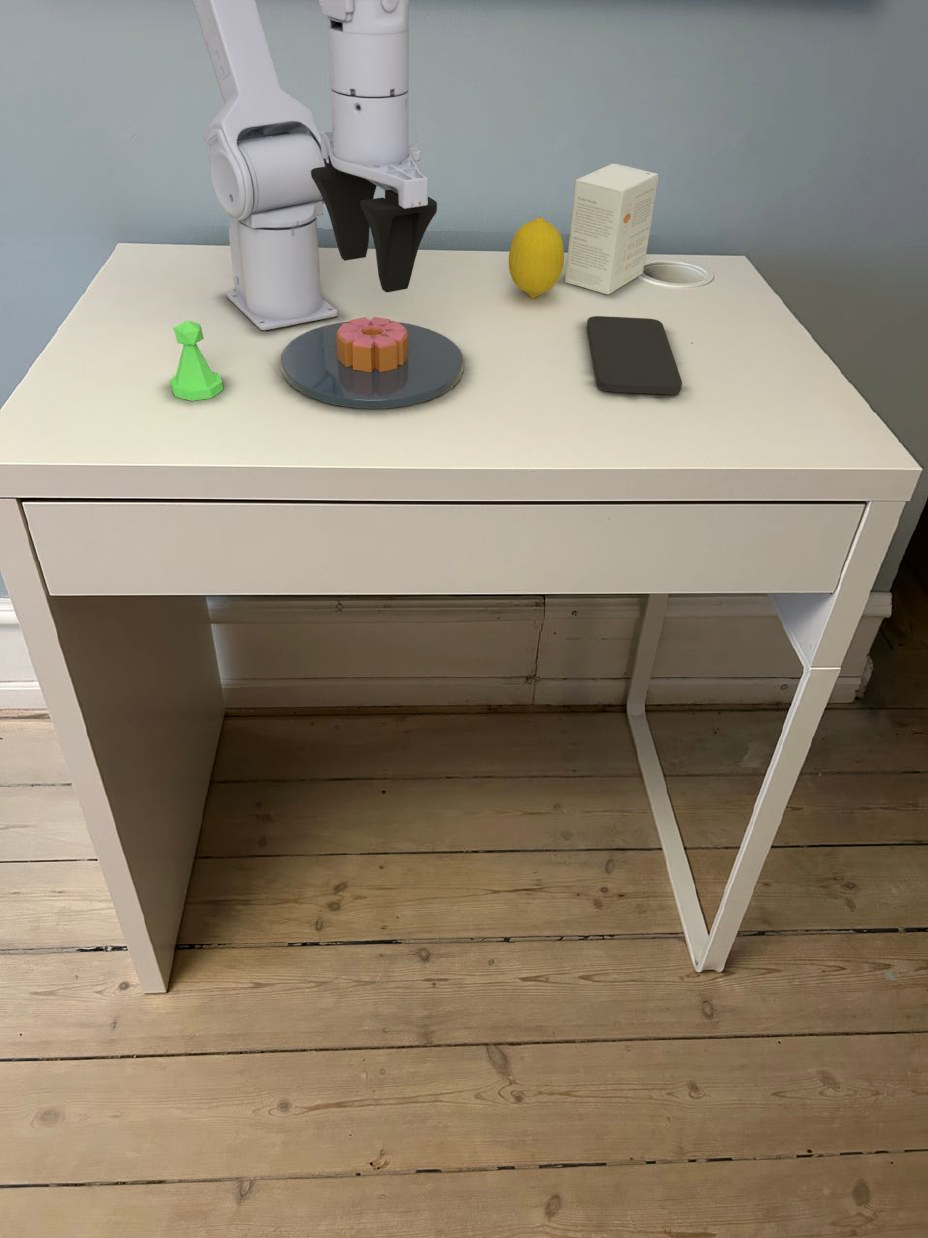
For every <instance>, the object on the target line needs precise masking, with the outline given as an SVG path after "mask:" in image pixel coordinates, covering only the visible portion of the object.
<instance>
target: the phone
mask: <svg viewBox="0 0 928 1238" xmlns="http://www.w3.org/2000/svg"><path fill="white" fill-rule="evenodd" d="M586 331H587V336H588V343H589V348H590V351H591V352H590V353H591V358H592V359H591V360H592V364H593V370H594V375H595V381H596V385H597V387H598V388H599V389H601V390H603V391H606V392H611V393H612V392H613V393H632V394H648V395H649V394H652V395H675V394H676V395H677V394H679V393H680V392H681V390H682V386H683V380H682V377H681V375H680V372H679V371H680V370H679V368H678V365H677V363H676V360H675V357H674V353H673V351H672V348H671V345H670V342H669V339H668V336H667V333H666V330H665V327H664V324H663V322H661V321H660V320H658V319H656V318H655V319H654V318H648V317H647V318H646V317H645V318H644V317H628V316H627V317H626V316H625V317H624V316H607V315H606V316H603V315H595V316H590V317H589V318H587V321H586Z"/></svg>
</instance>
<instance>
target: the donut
mask: <svg viewBox="0 0 928 1238" xmlns="http://www.w3.org/2000/svg"><path fill="white" fill-rule="evenodd" d="M370 320H371V321H370ZM349 321H350V322H349ZM349 321H348V322H349V323H343V325H342V326H341V327H340V328H339V329H338V331H337V332H336V335H337V355H338V360H339V361H340V362H341V363H342V364H343V365H345V366H346V367H349V366H353V370H358V371H364V372H372V371H373V370H374V368H376V369H377V370H378V371H379V372H384V371H389V370H393V369H397V365H403V364H404V363H405V361H406V360H407V358H408V334H407V330H406V328H405V327H403V326H402V325H401V324H400V323H398V322H399V321H394V322H392V320H391V318H385V317H377V316H373V317H372V318H371V319H369V318H368V317H366V316H365V317H360V318H354V319H349Z"/></svg>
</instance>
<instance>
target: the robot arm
mask: <svg viewBox="0 0 928 1238" xmlns="http://www.w3.org/2000/svg"><path fill="white" fill-rule="evenodd" d="M191 1H192V4H193V7H194V10H195V14H196V17H197V20H198V23H199V27H200V30H201V33H202V36H203V40H204V42H205V43H204V44H205V46H206V49H207V53H208V56H209V60H210V63H211V65H212V69H213V72H214V75H215V79H216V82H217V85H218V88H219V92H220V94H221V97H222V101H223V105H222V106H221V108H220V109H219V110H218V112H217V114H216V115H215V116H214V117H213V119H212V121H211V122H210V123H209V125H208V127H207V129H206V132H205V134H204V144H205V149H206V153H207V156H208V162H209V172H210V173H209V174H210V180H211V186H212V188H213V192H214V195H215V197H216V199H217V201H218V203H219V206H221V208H222V209H223V211H224V212H226V214H227V215H228V216H229V217H230V218H231V220H230V223H229V226H228V228H229V229H228V239H229V240H228V241H229V246H230V256H231V267H232V272H233V281H234V289H231V290H228V291H226V293H225V294H226V295H225V296H226V297H227V298H228V299H229V301H231V302H232V303H233V304H234V305H235V306H236V307H237V308H238V309H239V311H241V312H242V313H243V314H244V315H245V316H246V317H247V318H248V319H249V320H250V321H251V322H252V323H253V324H254V325H255V326H256V327H257V328H258V329H259V330H261V331H269V330H274V329H279V328H284V327H290V326H294V325H299V324H305V323H310V322H315V321H319V320H325V319H330V318H331V319H332V318H335V317H338V315H339V312H338V310H337V309H336V308H335V307H333V306H332V305H331V304H330V303H329V302H328V301H326V300H325V299H324V298H323V297H322V289H321V288H322V287H321V272H320V271H321V270H320V253H319V235H318V217H319V216H323V215H324V205H325V207H326V211H327V213H328V216H329V220H330V223H331V226H332V230H333V234H334V238H335V242H336V245H337V249H338V253H339V255H340V258H341V260H342V261H344V262H346V261H353V260H359V259H364V258H367V254H368V249H369V242H370V232H371V236H372V241H373V244H374V250H375V257H376V267H377V274H378V280H379V284H380V287H381V290H382V291H383V292H384V293H393V292H398V291H404V290H408V289H409V285H410V282H411V279H412V274H413V270H414V266H415V262H416V258H417V255H418V251H419V248H420V245H421V242H422V240H423V238H424V235H425V233H426V231H427V229H428V227H429V225H430V224H431V221H432V220H433V218H434V217H435V216H436V214H437V212H438V202H437V200H436V199H433V198H431V197H430V196H429V178H428V177H427V176H425V175H424V174H423V173H422V172H421V171H420V170H419V167H418V166H417V163H416V162H420V161H421V160H422V151H421V150H420V149H418V148H416V147H415V146H413V145H409V85H410V84H409V78H410V77H409V76H410V75H409V73H410V72H409V67H410V66H409V59H410V58H409V48H410V47H409V44H410V41H409V35H410V31H409V30H410V29H409V28H410V26H409V23H410V21H409V20H410V18H409V17H410V15H409V13H410V12H409V10H410V9H409V8H410V7H409V6H410V5H409V4H410V0H318V5H319V6H320V8H321V14H322V15H323V16H325V17H327V32H328V55H329V56H328V57H329V76H330V78H329V79H330V98H331V99H330V100H331V127H332V130H328V131H319V128H318V126H317V123H316V121H315V117H314V114H313V111H312V110H311V109H310V108H309V107H307V106H306V105H304V104H303V103H302V102H300V101H299V100H297V99H295V98H294V97H293V96H291V95H290V94H289V93H287V92H286V91H284V90H283V89H282V88H281V83H280V81H279V78H278V77H279V76H278V74H277V71H276V68H275V64H274V61H273V57H272V53H271V50H270V47H269V43H268V40H267V37H266V33H265V31H264V26H263V23H262V20H261V19H262V18H261V16H260V13H259V10H258V6H257V3H256V0H191ZM377 187H378V188H380V189H382V190H383V191H384V196H383V197H375V194H376V190H377Z"/></svg>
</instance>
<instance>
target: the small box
mask: <svg viewBox="0 0 928 1238" xmlns="http://www.w3.org/2000/svg"><path fill="white" fill-rule="evenodd" d="M659 177H660V175H659V173H656V172H652V171H648V170H644V169H640V168H635V167H631V166H627V165H623V164H619V163H613V162H612V163H610V164H608V165H606V166H603V167H601V168H599V169H597V170H594V171H591V172H590V173H587V174H584V175H583V176H581V177H579V178H576V179H575V181H574V189H573V190H574V191H573V201H572V209H571V218H570V219H571V220H570V230H569V237H568V239H569V240H568V247H567V248H568V249H567V257H566V267H565V268H566V269H565V277H564V282H565V283H566V284H570V285H573V286H577V287H581V288H583V289H588V290H591V291H594V292H597V293H600V294H604V295H610V294H612V293H614V292H615V291H617V290H619V289H620V288H621V287H624V286H625V285H626V284H628V283H630V282H632V281H633V280H635V279H637V278H638V277H640V276H641V275H642V274H644V270H645V269H644V268H645V264H646V263H645V262H646V257H647V253H648V245H649V240H650V239H649V238H650V233H651V228H652V227H651V226H652V220H653V213H654V207H655V201H656V195H657V189H658V183H659V182H658V181H659Z"/></svg>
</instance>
